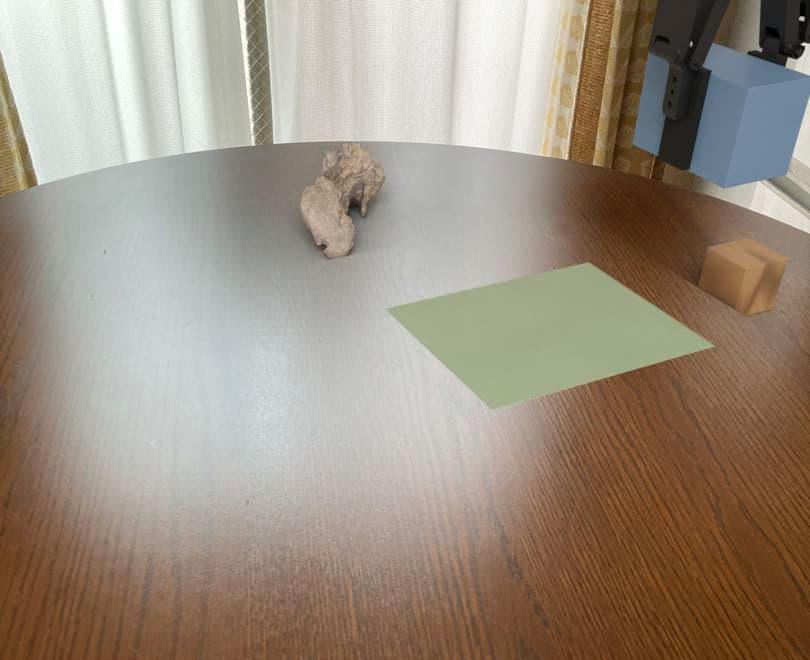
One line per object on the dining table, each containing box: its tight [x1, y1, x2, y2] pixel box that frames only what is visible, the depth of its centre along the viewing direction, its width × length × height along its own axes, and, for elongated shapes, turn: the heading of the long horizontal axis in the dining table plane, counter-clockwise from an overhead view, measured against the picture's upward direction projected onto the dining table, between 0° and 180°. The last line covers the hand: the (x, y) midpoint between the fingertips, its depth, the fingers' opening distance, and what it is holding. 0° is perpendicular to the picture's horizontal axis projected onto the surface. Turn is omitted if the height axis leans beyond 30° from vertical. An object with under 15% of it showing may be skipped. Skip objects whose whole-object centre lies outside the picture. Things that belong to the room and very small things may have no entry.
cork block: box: [697, 237, 789, 317], centre depth 76 cm, size 4×4×4 cm
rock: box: [299, 141, 386, 260], centre depth 85 cm, size 6×14×7 cm, turn 165°
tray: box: [384, 261, 716, 411], centre depth 72 cm, size 20×16×1 cm
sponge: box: [632, 42, 810, 189], centre depth 66 cm, size 10×6×6 cm, turn 29°
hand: (708, 156), depth 68 cm, fingers closed on sponge, 6 cm apart
